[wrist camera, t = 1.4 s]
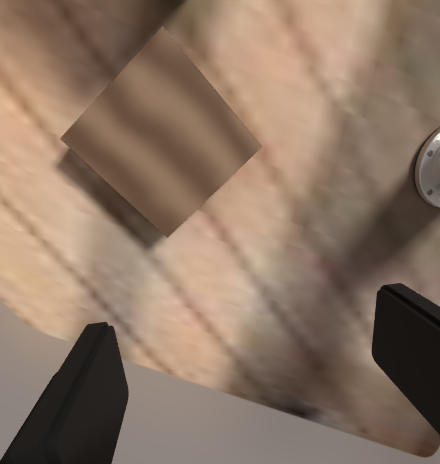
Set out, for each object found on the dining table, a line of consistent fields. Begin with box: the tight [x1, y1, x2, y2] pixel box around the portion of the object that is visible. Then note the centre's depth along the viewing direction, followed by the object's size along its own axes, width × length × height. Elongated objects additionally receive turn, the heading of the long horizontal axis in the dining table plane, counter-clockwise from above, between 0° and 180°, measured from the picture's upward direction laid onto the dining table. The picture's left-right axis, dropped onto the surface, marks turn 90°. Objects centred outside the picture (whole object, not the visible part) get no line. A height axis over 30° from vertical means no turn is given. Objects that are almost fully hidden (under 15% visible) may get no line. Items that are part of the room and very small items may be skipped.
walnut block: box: [60, 26, 262, 238], centre depth 32 cm, size 16×16×4 cm
